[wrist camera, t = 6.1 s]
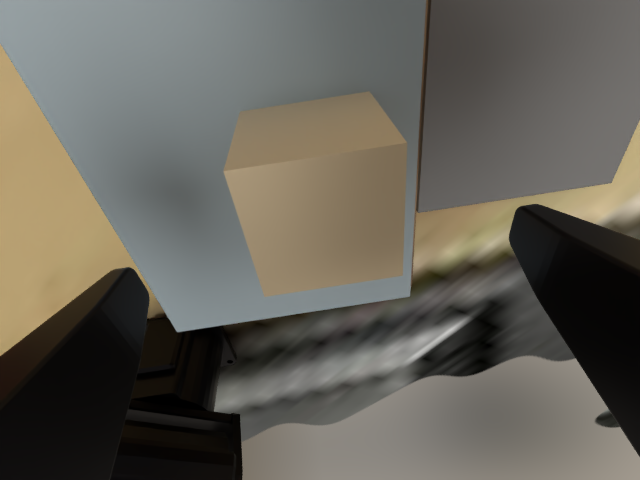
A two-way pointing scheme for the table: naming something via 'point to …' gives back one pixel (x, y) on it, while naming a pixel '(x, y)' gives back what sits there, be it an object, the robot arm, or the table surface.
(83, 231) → the table surface
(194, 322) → the lid
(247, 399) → the table surface
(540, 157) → the felt pad
